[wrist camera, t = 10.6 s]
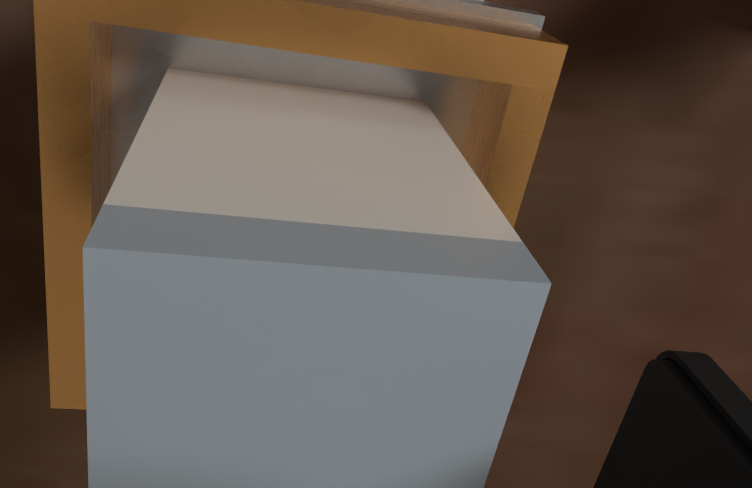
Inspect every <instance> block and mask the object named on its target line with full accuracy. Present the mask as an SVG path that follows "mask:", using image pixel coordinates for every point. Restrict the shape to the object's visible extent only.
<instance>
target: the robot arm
mask: <svg viewBox="0 0 752 488" xmlns="http://www.w3.org/2000/svg"><path fill="white" fill-rule="evenodd" d="M594 488H752V402H751V401H750V399H749V398H748V397H747V396H746V395H745V394H744V393H743V392H742V391H741V390H740V389H739V388H738V386H737V385H736V384H735V383H734V382H733V381H732V380H731V379H730V378H729V377H728V376H727V375H726V374H725V372H724V371H723V370H722V369H721V368H720V367H719V366H718V365H717V364H716V363H715V362H714V361H713V359H712V358H710V357H709V356H708V355H706V354H703V353H697V352H683V351H670V350H668V351H664V352H662V353H661V354H659V355H658V356H657V358H656V359H655V360H651V361H650V362H649V363H648V364H647V366H646V367H645V369H644V372H643V374H642V376H641V378H640V381H639V383H638V385H637V388H636V390H635V392H634V395H633V397H632V399H631V402H630V404H629V406H628V409H627V411H626V413H625V416H624V418H623V420H622V423H621V425H620V427H619V430H618V432H617V434H616V437H615V439H614V441H613V443H612V446H611V448H610V450H609V453H608V455H607V457H606V460H605V462H604V464H603V467H602V469H601V471H600V474H599V476H598V478H597V481H596V483H595V485H594Z"/></svg>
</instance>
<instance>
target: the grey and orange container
mask: <svg viewBox="0 0 752 488" xmlns="http://www.w3.org/2000/svg"><path fill="white" fill-rule="evenodd" d="M33 3H34V26H35V50H36V73H37V96H38V119H39V143H40V166H41V189H42V212H43V235H44V259H45V282H46V305H47V328H48V352H49V375H50V398H51V408H62V409H87V405H86V365H85V325H84V285H83V245H84V243H85V241H86V239H87V237H88V235H89V233H90V231H91V228H92V226H93V224H94V222H95V220H96V218H97V216H98V214H99V212H100V210H101V208H102V205H103V203H104V201H105V199H106V197H107V195H108V193H109V191H110V189H111V187H112V185H113V183H114V180H115V178H116V176H117V174H118V172H119V170H120V168H121V166H122V164H123V162H124V160H125V157H126V155H127V153H128V151H129V149H130V147H131V145H132V143H133V141H134V139H135V137H136V134H137V132H138V130H139V128H140V126H141V124H142V122H143V120H144V118H145V116H146V114H147V112H148V109H149V107H150V105H151V103H152V101H153V99H154V97H155V95H156V93H157V91H158V89H159V86H160V84H161V82H162V80H163V78H164V76H165V74H166V72H167V70H168V68H170V69H178V70H185V71H193V72H200V73H208V74H216V75H223V76H231V77H239V78H246V79H254V80H261V81H269V82H277V83H284V84H292V85H300V86H307V87H315V88H322V89H330V90H338V91H345V92H353V93H361V94H368V95H376V96H383V97H391V98H399V99H406V100H414V101H422V102H426V104H427V105H428V107H429V108H430V109H431V111H432V112H433V114H434V115H435V117H436V118H437V120H438V121H439V122H440V124H441V125H442V127H443V128H444V130H445V131H446V132H447V134H448V135H449V137H450V138H451V140H452V141H453V143H454V144H455V145H456V147H457V148H458V150H459V151H460V153H461V154H462V155H463V157H464V158H465V160H466V161H467V163H468V164H469V166H470V167H471V168H472V170H473V171H474V173H475V174H476V176H477V177H478V179H479V180H480V181H481V183H482V184H483V186H484V187H485V189H486V190H487V191H488V193H489V194H490V196H491V197H492V199H493V200H494V202H495V203H496V204H497V206H498V207H499V209H500V210H501V212H502V213H503V215H504V216H505V217H506V219H507V220H508V222H509V223H510V225H511V226H512V227H513V228H514V224H515V221H516V218H517V214H518V211H519V208H520V205H521V201H522V198H523V195H524V191H525V188H526V185H527V181H528V178H529V175H530V171H531V168H532V165H533V162H534V158H535V155H536V152H537V148H538V145H539V142H540V138H541V135H542V132H543V128H544V125H545V122H546V118H547V115H548V112H549V109H550V105H551V102H552V99H553V95H554V92H555V89H556V85H557V82H558V79H559V75H560V72H561V69H562V66H563V62H564V59H565V56H566V52H567V49H568V45H567V44H565V43H563V42H561V41H560V40H558V39H556V38H554V37H553V36H551V35H549V34H548V33H546V32H544V31H542V27H543V23H544V20H545V16H544V15H542V14H540V13H538V12H536V11H534V10H528V9H522V8H516V7H511V6H505V5H499V4H494V3H488V2H484V0H33Z"/></svg>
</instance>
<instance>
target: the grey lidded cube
mask: <svg viewBox="0 0 752 488" xmlns="http://www.w3.org/2000/svg"><path fill="white" fill-rule="evenodd" d="M83 285H84V325H85V365H86V405H87V445H88V485H89V488H483V487H484V484H485V481H486V478H487V475H488V472H489V469H490V466H491V463H492V460H493V457H494V454H495V451H496V448H497V445H498V442H499V440H500V437H501V434H502V431H503V428H504V425H505V422H506V419H507V416H508V413H509V410H510V407H511V404H512V401H513V398H514V395H515V392H516V389H517V386H518V383H519V380H520V377H521V374H522V371H523V368H524V365H525V362H526V359H527V356H528V353H529V350H530V347H531V344H532V341H533V338H534V335H535V332H536V329H537V326H538V323H539V320H540V317H541V314H542V311H543V308H544V305H545V302H546V299H547V296H548V293H549V290H550V287H551V282H550V281H549V279H548V278H547V276H546V275H545V274H544V272H543V271H542V269H541V268H540V266H539V265H538V263H537V262H536V261H535V259H534V258H533V256H532V255H531V253H530V252H529V251H528V249H527V248H526V246H525V245H524V243H523V242H522V240H521V239H520V238H519V236H518V235H517V233H516V232H515V230H514V229H513V227H512V226H511V225H510V223H509V222H508V220H507V219H506V217H505V216H504V215H503V213H502V212H501V210H500V209H499V207H498V206H497V204H496V203H495V202H494V200H493V199H492V197H491V196H490V194H489V193H488V191H487V190H486V189H485V187H484V186H483V184H482V183H481V181H480V180H479V179H478V177H477V176H476V174H475V173H474V171H473V170H472V168H471V167H470V166H469V164H468V163H467V161H466V160H465V158H464V157H463V155H462V154H461V153H460V151H459V150H458V148H457V147H456V145H455V144H454V143H453V141H452V140H451V138H450V137H449V135H448V134H447V132H446V131H445V130H444V128H443V127H442V125H441V124H440V122H439V121H438V120H437V118H436V117H435V115H434V114H433V112H432V111H431V109H430V108H429V107H428V105H427V104H426V102H422V101H414V100H406V99H399V98H391V97H383V96H376V95H368V94H361V93H353V92H345V91H338V90H330V89H322V88H315V87H307V86H300V85H292V84H284V83H277V82H269V81H261V80H254V79H246V78H239V77H231V76H223V75H216V74H208V73H200V72H193V71H185V70H178V69H170V68H168V70H167V72H166V74H165V76H164V78H163V80H162V82H161V84H160V86H159V89H158V91H157V93H156V95H155V97H154V99H153V101H152V103H151V105H150V107H149V109H148V112H147V114H146V116H145V118H144V120H143V122H142V124H141V126H140V128H139V130H138V132H137V134H136V137H135V139H134V141H133V143H132V145H131V147H130V149H129V151H128V153H127V155H126V157H125V160H124V162H123V164H122V166H121V168H120V170H119V172H118V174H117V176H116V178H115V180H114V183H113V185H112V187H111V189H110V191H109V193H108V195H107V197H106V199H105V201H104V203H103V205H102V208H101V210H100V212H99V214H98V216H97V218H96V220H95V222H94V224H93V226H92V228H91V231H90V233H89V235H88V237H87V239H86V241H85V243H84V245H83Z"/></svg>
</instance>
